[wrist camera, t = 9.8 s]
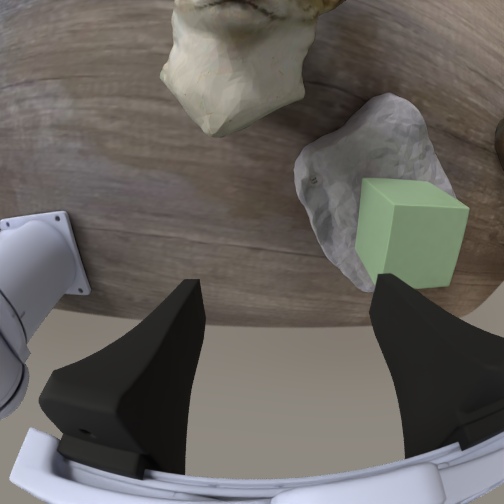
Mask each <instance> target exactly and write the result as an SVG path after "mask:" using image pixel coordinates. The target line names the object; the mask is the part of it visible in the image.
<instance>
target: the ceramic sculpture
mask: <svg viewBox="0 0 504 504" xmlns="http://www.w3.org/2000/svg"><path fill="white" fill-rule="evenodd" d="M344 1H346V0H175V3H174V11H173V15H172V19H171V23H172V27H173V41H174V45H173V48H172V50H171V52H170V56H169V60H168V62H167V63H166V64H165V65H164V67H163V69H162V71H161V73H160V79H161V80H162V81H163V82H164V83H165V84H166V86H167V87H168V88H169V90H170V91H171V92H172V93H173V94H174V96H175V97H176V98H177V99H178V101H179V102H180V103H181V105H182V106H183V108H184V109H185V111H186V112H187V114H188V115H189V117H190V118H191V119H192V120H193V121H194V122H195V123H197V124H198V125H199V126H200V127H201V129H202V130H203V132H204V133H205V134H206V135H208V136H211V137H224V136H226V135H228V134H230V133H233V132H236V131H239V130H242V129H244V128H247V127H248V126H250V125H251V124H252V123H254V122H256V121H257V120H259V119H261V118H262V117H264V116H266V115H268V114H270V113H271V112H273V111H275V110H277V109H279V108H281V107H283V106H286V105H288V104H290V103H293V102H295V101H299V100H301V99H303V98H304V95H305V88H304V85H303V78H302V74H301V73H302V65H303V61H304V58H305V56H306V55H307V53H308V50H309V47H310V46H311V45H312V44H313V42H314V40H315V29H316V24H317V19H318V16H319V15H321V14H323V13H327V12H330V11H331V10H333V9H335V8H336V7H338V6H339V5H340V4H342V3H343V2H344Z"/></svg>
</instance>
